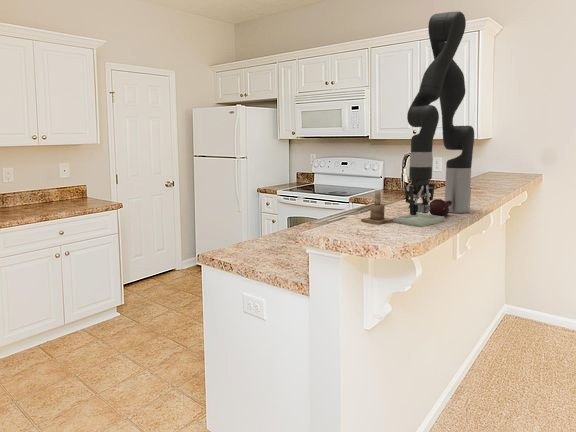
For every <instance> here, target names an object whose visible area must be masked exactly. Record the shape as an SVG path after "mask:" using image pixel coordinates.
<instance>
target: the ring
mask: <svg viewBox="0 0 576 432" xmlns="http://www.w3.org/2000/svg"><path fill="white" fill-rule="evenodd" d="M416 205H417V213H421V214H425V213H424V212H428V213H429V212H430V211H429V210H430V207H429V205H430V203H428V204H425V203H423V202H417V204H416ZM408 209H410V204H409V205H408Z"/></svg>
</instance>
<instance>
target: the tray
mask: <svg viewBox="0 0 576 432" xmlns="http://www.w3.org/2000/svg"><path fill="white" fill-rule="evenodd" d="M392 219H393V222H392V223H396V224H400V225H401V224H402V225H408V226H413V227H419V228H421V227H426V226H432V225H436V224H441V223H445V216H435V215H432V214H429V213H426V214H425V213H418V212H417V214H416V215H410V213H409V214H402V215H397V216H393V217H392Z"/></svg>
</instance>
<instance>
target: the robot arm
mask: <svg viewBox="0 0 576 432" xmlns="http://www.w3.org/2000/svg"><path fill="white" fill-rule="evenodd" d="M466 25H467V20H466V16H465V14H464V13H463V12H462V11H448V12H440V13H434V14H433V15H431V16H430V18H429V21H428V27H427V28H428V36H429V37H428V38H429V42H430V46H431V50H432V55H433V61H432V62H431V63H430V64H429V65H428V66H427V68H426V69H425V71H424V73H423V76H422V79H421V83H420V85H419V89H418V92H417V94H416V95H415V97H414V99H413V101H412V103H411V104H410V106H409V108H408V111H407V117H406V118H407V123H408V125H409V126H411V127H412V128H420V129H419V132H418V133H416V134H414V135H412V137H411V138H410V154H409V169H408V172H409V173H408V178H409V180H411V182H410V183H411V184H410V185H406V184H405V186H404V195H405V196H404V197H405V203H406V204H407V203H408V204H409V205H410V208H409V214H410V215H416V214H417V213H418V212H417V205H416V204H417V203H418V202H419V199H420V198H421V203H425V204H430V202H432V201H433V200H434V194H435V187H436V186H435V183H430V180H432V178H433V159H434V158H433V140H434V138H435V137H434V136H435V133H436V131H437V129H438V128H437V127H438V124H439V120H440V114H439V111H438V108H437V107H436V106H434V105H432V103H433V102H436V101H438V100H439V105H440V111H441V125H442V127H441V128H442V141H443V142H442V143H443V146H444V148H445V149H446V150H449V151H461V153H460V155H458V156H456V157H453V158H450V159H447V161H446V163H445V166H446V167H445V185H444V186H445V189H444V201H445V202H446V201H449V200H450V201H452V204H451V205H450V206H449V207H448V208H449V211H448V212H449V213H452V214H453V213H455V214H465V213H466V214H467V213H470V210H471V196H472V195H471V194H472V187H471V181H472V180H471V179H472V163H473V153H474V146H475V145H474V144H475V130H474V129H475V128H474V127H473V126H472V125H454V116H455V114H456V112H457V110H458V108H459V106H460V105H461V103H462V102H463V100H464V98H465V95H466V82H465V75H464V72H463V70H462V69H461V68H460V66H459V65H458V64H457V62H456V61H455V60H454V57H455V55H456V52H457V51H458V48H459V46H460V43H461V42H462V39H463V37H464V34H465V31H466ZM423 214H429V212H424V213H423Z"/></svg>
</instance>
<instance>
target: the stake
mask: <svg viewBox="0 0 576 432" xmlns="http://www.w3.org/2000/svg"><path fill="white" fill-rule="evenodd" d="M381 193H382V191H381V190H379V189H378V190H377V189H376V190H374V203H371V204H370V212H369V213H370V215H369V217H364V218H361V219H360V222H361V221H362V223H368V224H372V225H373V224H374V225H377V226H378V225H385V224H389V223H390V224H391V223H394V222H393V218H389V217H385V204H384V203H383V204H382V203H381V198H382V197H381V195H382V194H381Z"/></svg>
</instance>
